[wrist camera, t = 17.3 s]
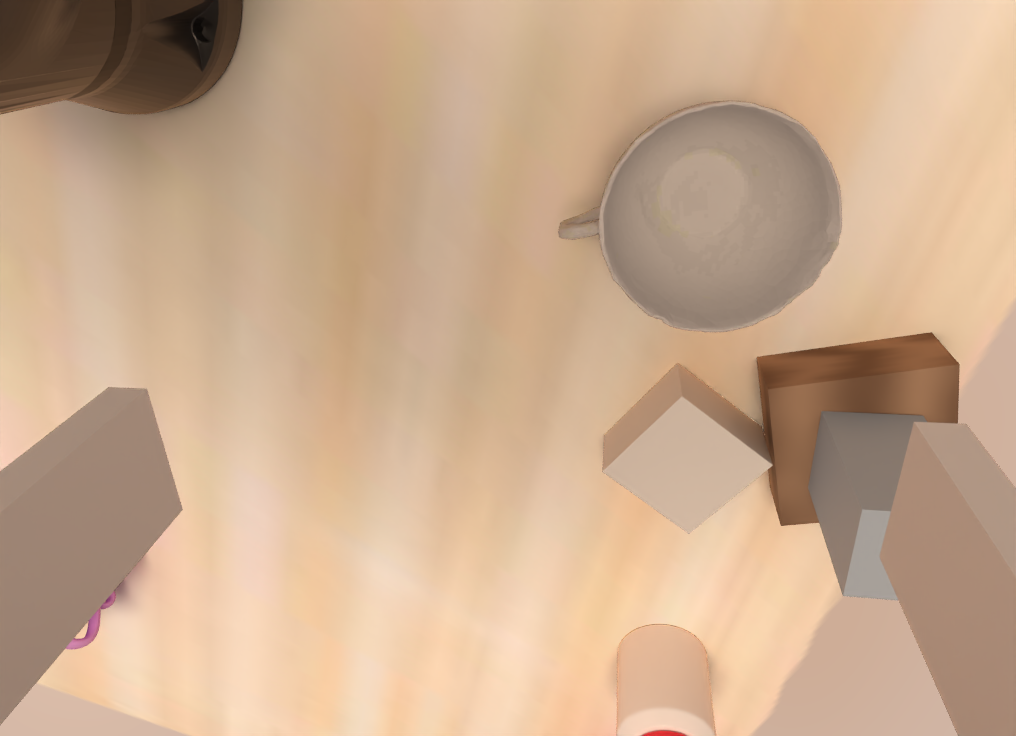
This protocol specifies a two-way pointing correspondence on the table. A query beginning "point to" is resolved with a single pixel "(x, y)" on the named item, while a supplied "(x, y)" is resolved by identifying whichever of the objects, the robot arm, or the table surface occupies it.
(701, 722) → the pill bottle
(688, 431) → the grey block
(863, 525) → the slate block
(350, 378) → the table surface
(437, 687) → the table surface
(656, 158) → the teacup
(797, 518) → the walnut block
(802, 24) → the table surface
